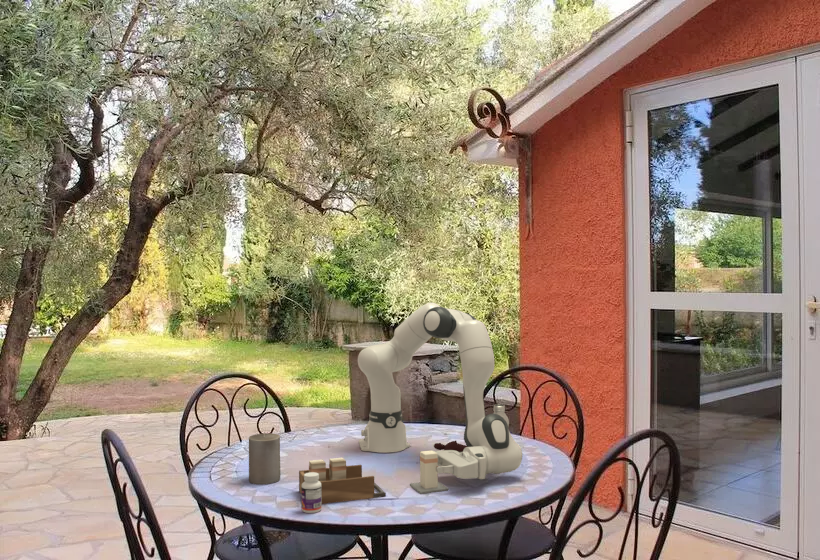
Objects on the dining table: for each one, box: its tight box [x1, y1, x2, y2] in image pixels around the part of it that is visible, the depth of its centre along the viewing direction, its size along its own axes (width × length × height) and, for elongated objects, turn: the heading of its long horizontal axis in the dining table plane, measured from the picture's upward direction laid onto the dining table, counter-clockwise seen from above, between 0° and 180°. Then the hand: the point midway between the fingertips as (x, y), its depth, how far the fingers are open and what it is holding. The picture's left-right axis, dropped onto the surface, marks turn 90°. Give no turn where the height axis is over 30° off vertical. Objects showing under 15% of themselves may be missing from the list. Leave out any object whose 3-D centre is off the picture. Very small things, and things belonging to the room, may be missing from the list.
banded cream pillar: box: [419, 449, 439, 489], centre depth 203 cm, size 4×4×10 cm
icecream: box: [433, 439, 467, 453], centre depth 235 cm, size 7×7×15 cm
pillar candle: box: [248, 432, 281, 486], centre depth 212 cm, size 10×10×15 cm
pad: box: [409, 480, 450, 495], centre depth 203 cm, size 9×9×1 cm
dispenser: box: [298, 457, 387, 505], centre depth 198 cm, size 14×22×10 cm, turn 110°
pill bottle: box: [301, 472, 323, 514], centre depth 183 cm, size 5×5×10 cm
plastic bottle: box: [492, 403, 510, 427], centre depth 229 cm, size 6×7×20 cm
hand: (430, 465), depth 203 cm, fingers open, 8 cm apart
